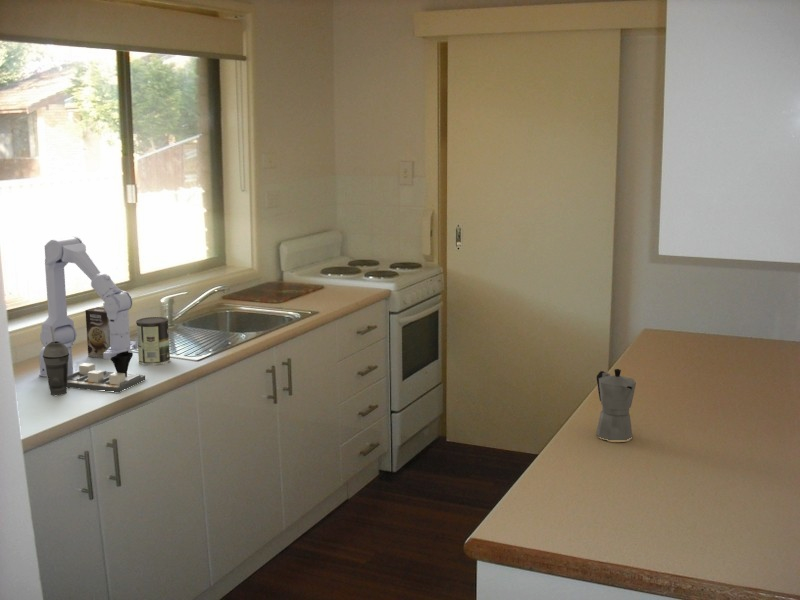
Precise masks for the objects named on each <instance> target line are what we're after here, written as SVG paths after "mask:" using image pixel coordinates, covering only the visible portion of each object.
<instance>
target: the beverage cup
mask: <svg viewBox="0 0 800 600" xmlns="http://www.w3.org/2000/svg"><path fill="white" fill-rule="evenodd" d="M51 334H52V341H53V342H51V343H49V344H48V345H47V346H46V347H45V349H44V352H43V358H44V362H45V365H46V371H47V377H46V378H47V381H48V388H49V392H50V395H52V396H55V395H57V396H63V395H66V394H68V387H67V380H68V359H69V352H68V349H67V347H66V346H65V345H64V344H63V343H61V342H58V341H54V335H53V328H52V326H51Z"/></svg>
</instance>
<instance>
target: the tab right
mask: <svg viewBox="0 0 800 600" xmlns="http://www.w3.org/2000/svg"><path fill="white" fill-rule="evenodd" d="M124 381H125V373H117V371H115V372H114V373H112V374H110V375H109V383H110V384H115V385H120V383H121V382H124Z"/></svg>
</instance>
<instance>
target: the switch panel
mask: <svg viewBox="0 0 800 600" xmlns="http://www.w3.org/2000/svg"><path fill="white" fill-rule="evenodd" d="M96 370H97V371H100V370H98V369H96ZM103 371H104V379H102V380H99V381H98V383H96V382H88V374H87V375H82V374H79V371H77V372H75V373H72V374H70V375H68V380H67V388H69V387H71V389H78V388H80V390H87V389H90V390H89V391H96V390H105V391H114V392H113V393H115V392H120V391H122V390H124V389H126V390H128V389H130V388H132V387H134V386H136V385H138V384H140V383H142V382H141V381H143V380H145V381H146V375H143V374H135V373H127V375H126V377H125V381H124V382H121V383H120V385H115V384H110V383H109V375H110V374H112V373H114V372H113V371H107V370H103ZM139 382H140V383H139ZM143 382H144V381H143ZM137 383H138V384H137ZM135 384H136V385H135ZM133 385H134V386H133ZM131 386H132V387H131ZM129 387H130V388H129ZM127 388H128V389H127ZM105 391H104V392H105ZM124 391H125V390H124ZM122 392H123V391H122ZM120 393H121V392H120Z"/></svg>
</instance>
